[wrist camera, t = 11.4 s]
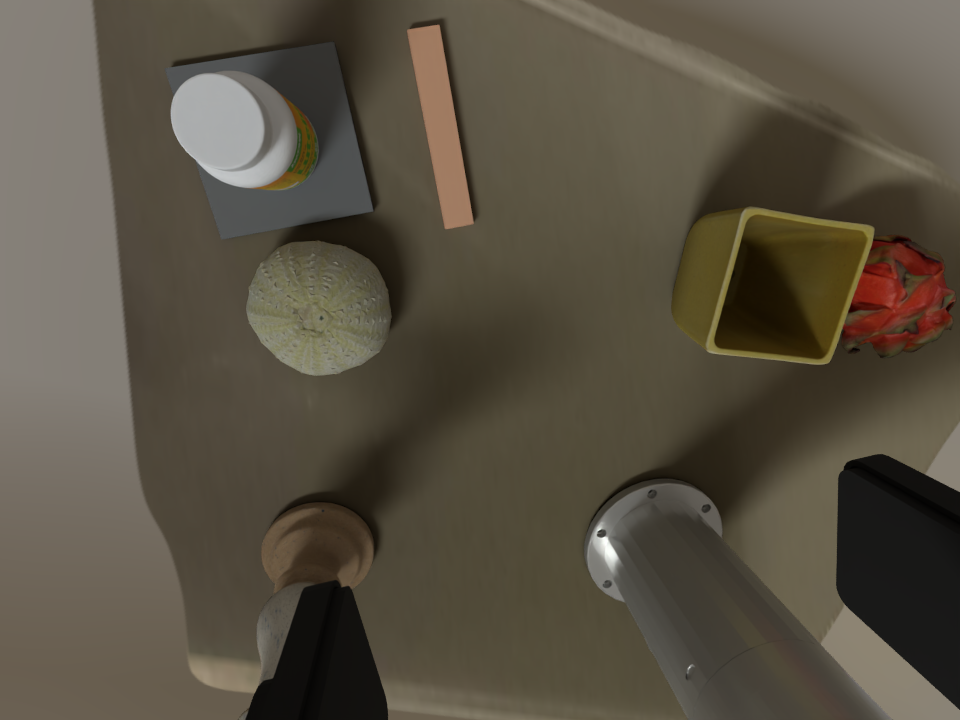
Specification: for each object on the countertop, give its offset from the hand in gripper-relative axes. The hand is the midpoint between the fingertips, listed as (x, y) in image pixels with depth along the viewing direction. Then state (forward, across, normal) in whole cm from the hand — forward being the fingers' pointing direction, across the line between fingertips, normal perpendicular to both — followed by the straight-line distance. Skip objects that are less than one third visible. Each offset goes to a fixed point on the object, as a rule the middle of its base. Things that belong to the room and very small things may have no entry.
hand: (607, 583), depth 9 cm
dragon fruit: (+30, -29, +4) cm, 42 cm away
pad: (+28, +10, -13) cm, 33 cm away
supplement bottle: (+28, +10, -13) cm, 32 cm away
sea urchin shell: (+29, +10, -3) cm, 31 cm away
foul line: (+28, 0, -12) cm, 31 cm away
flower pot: (+30, -18, +1) cm, 35 cm away
